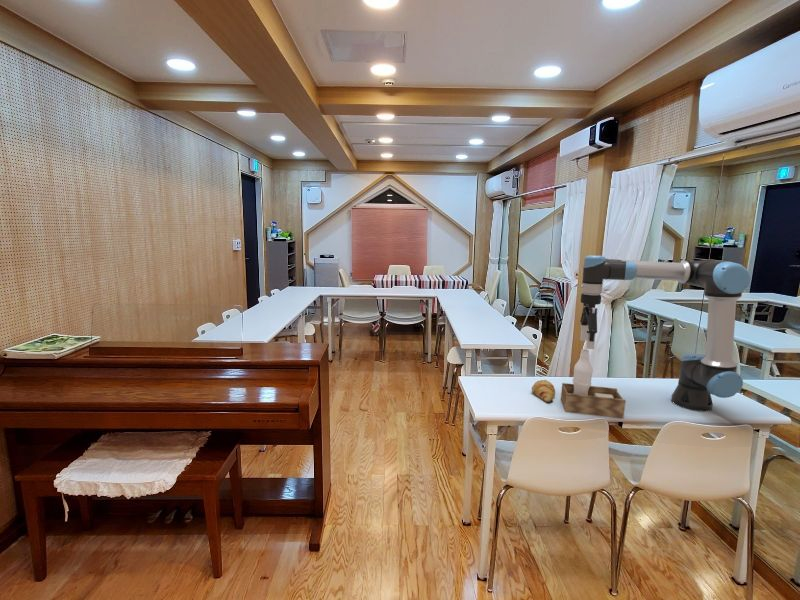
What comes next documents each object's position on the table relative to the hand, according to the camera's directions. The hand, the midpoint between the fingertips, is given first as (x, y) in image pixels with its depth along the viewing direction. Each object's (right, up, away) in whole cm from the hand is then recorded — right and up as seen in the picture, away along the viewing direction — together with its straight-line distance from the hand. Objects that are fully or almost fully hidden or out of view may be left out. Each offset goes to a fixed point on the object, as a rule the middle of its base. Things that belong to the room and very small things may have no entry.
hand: (586, 344), depth 170 cm
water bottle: (-1, -27, +5) cm, 28 cm away
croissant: (-11, -26, +20) cm, 35 cm away
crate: (+3, -28, +4) cm, 29 cm away
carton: (+9, -28, +2) cm, 29 cm away
